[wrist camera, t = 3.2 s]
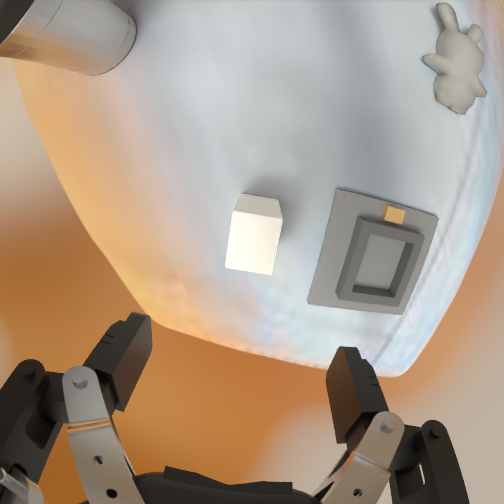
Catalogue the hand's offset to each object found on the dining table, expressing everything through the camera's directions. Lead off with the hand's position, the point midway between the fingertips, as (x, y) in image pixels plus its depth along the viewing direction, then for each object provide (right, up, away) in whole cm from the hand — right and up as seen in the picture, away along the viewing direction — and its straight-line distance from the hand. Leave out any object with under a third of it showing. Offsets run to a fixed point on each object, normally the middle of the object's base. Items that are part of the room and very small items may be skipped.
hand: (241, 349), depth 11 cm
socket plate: (+15, +3, +20) cm, 26 cm away
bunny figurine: (+25, +28, +10) cm, 39 cm away
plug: (+1, +8, +19) cm, 21 cm away
